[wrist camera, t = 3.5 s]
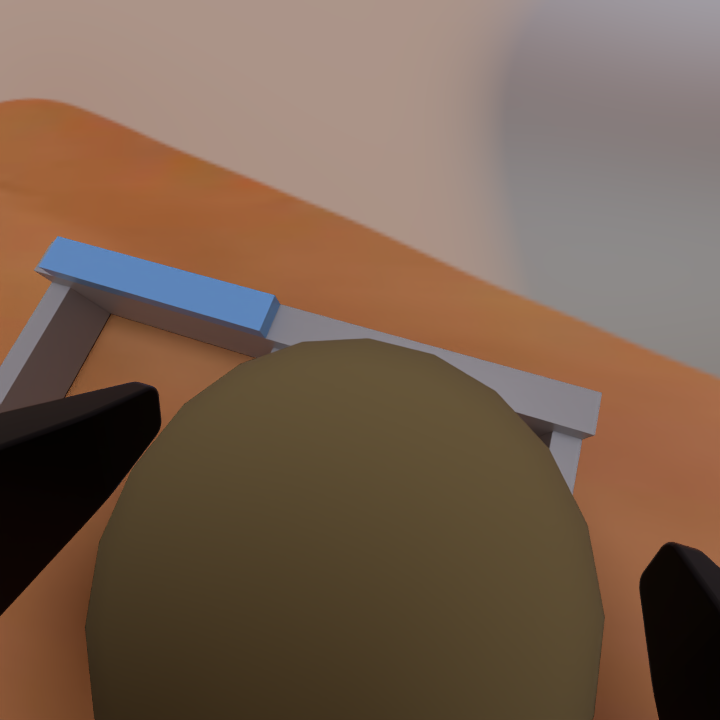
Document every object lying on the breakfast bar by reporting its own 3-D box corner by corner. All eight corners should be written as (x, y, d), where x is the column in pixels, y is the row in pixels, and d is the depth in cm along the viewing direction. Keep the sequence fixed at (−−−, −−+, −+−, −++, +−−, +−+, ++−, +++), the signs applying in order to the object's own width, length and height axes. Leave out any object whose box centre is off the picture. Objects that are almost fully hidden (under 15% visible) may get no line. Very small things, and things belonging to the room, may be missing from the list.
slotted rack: (-4, 481, 15) (-121, 475, 12) (108, 283, 17) (38, 230, 14) (506, 694, 12) (551, 772, 8) (561, 414, 14) (612, 387, 11)
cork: (259, 483, 14) (-111, 436, 4) (412, 398, 15) (446, 156, 4) (340, 670, 12) (31, 1570, 2) (513, 566, 13) (1000, 840, 2)
